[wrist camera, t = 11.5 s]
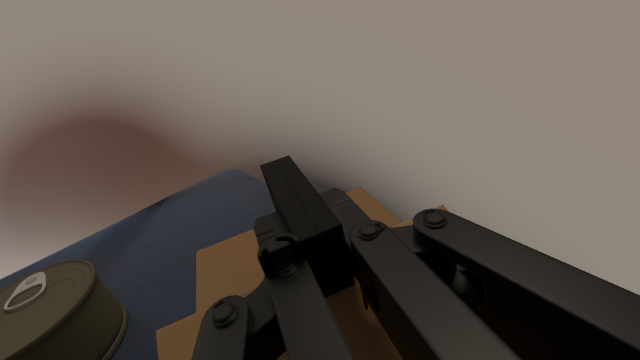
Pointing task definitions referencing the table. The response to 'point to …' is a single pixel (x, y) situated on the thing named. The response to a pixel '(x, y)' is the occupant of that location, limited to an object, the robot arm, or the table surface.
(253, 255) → the carton
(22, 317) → the can
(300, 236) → the robot arm
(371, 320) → the flap
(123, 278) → the table surface
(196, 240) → the table surface
